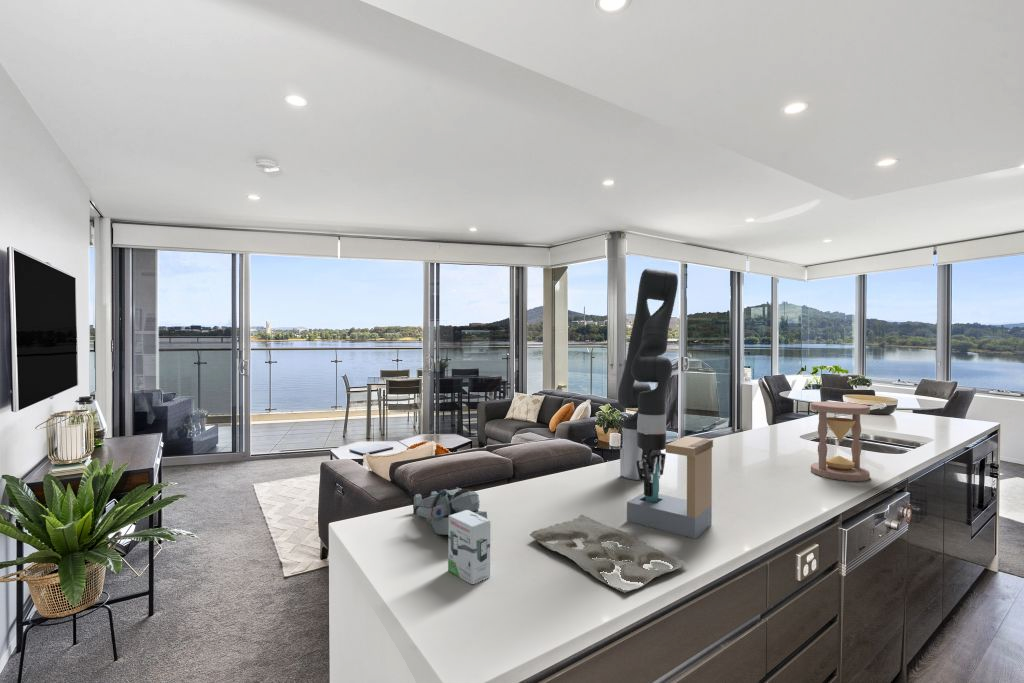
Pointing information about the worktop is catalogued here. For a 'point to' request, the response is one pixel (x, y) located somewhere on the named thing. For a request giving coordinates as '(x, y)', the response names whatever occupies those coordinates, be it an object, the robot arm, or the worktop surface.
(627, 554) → the stone relief
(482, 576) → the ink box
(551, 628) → the worktop surface
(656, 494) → the peg
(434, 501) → the toy
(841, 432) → the hourglass
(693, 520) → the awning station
